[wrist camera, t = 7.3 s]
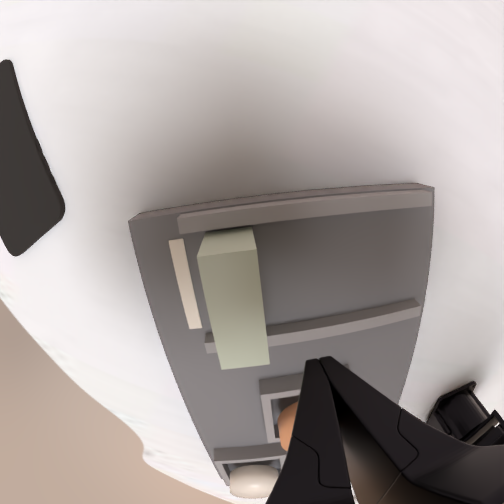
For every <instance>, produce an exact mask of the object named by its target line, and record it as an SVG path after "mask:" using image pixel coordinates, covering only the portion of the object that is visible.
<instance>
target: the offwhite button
mask: <svg viewBox="0 0 504 504" xmlns="http://www.w3.org/2000/svg"><path fill="white" fill-rule="evenodd" d="M278 476H279V474H278V470H277V469H276V468H274V467H271V466H267V465H247V466H242V467H238V468H236V469H234V470H232V471H231V472H230V493H231V494H232V495H234V496H236V497H240V498H248V499H256V498H264V497H269V495H270V493H271V491H272V489H273V487H274V485H275V483H276V480H277V478H278Z"/></svg>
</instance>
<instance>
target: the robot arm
mask: <svg viewBox="0 0 504 504" xmlns="http://www.w3.org/2000/svg"><path fill="white" fill-rule="evenodd" d="M475 386H476V382H475V381H474V382H472V383H470V384H468V385H466V386H464V387H462V388H460V389H458V390H456V391H454V392H451V393H449V394H447V395H445V396H443V397H441V398H439V400H438V401H437V403H436V405H435V408H434V410H433V412H432V414H431V416H430V418H429V420H428V422H427V424H426V423H425V422H423V421H421V420H420V419H418V418H417V417H415V416H413V415H412V414H410V413H409V412H408V411H406V410H405V409H403V408H402V409H401V407H400V406H399V405H397V404H396V403H395V402H393V401H392V400H390V399H389V398H388V397H386V396H385V395H383V394H382V393H381V392H379V391H378V390H377V389H375V388H374V387H372V386H371V385H370V384H368V383H367V382H366V381H364V380H363V379H361V378H360V377H359V376H357V375H356V374H355V373H353V372H352V371H351V370H349V369H348V368H347V367H345V366H344V365H343V364H341V363H340V362H339V361H337V360H336V359H335V358H333V357H332V356H325V357H320V358H319V359H317V358H314V359H309V360H306V361H305V366H304V372H303V378H302V384H301V389H300V395H299V400H298V405H297V410H296V415H295V420H294V425H293V430H292V434H291V438H290V443H289V447H288V451H287V454H286V458H285V461H284V464H283V466H282V469H281V471H280V474H279V476H278V478H277V480H276V483H275V485H274V487H273V489H272V491H271V493H270V495H269V497H268V499H267V502H266V504H355V502H354V499H353V495H352V490H351V484H352V487H353V490H354V492H355V495H356V498H357V500H358V503H359V504H504V420H503V419H502V418H501V416H500V415H499V414H498V412H497V411H496V410H494V411H493V412H492V414H491V415H490V414H489V413H488V411H487V410H486V409H485V407H484V406H483V405H482V404H481V402H480V401H479V400H478V398H477V397H476V396H475V394H474V393H473V390H474V388H475ZM498 422H499V425H498V426H496V427H494V426H495V425H496V424H497V423H498ZM350 482H351V483H350Z"/></svg>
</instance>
